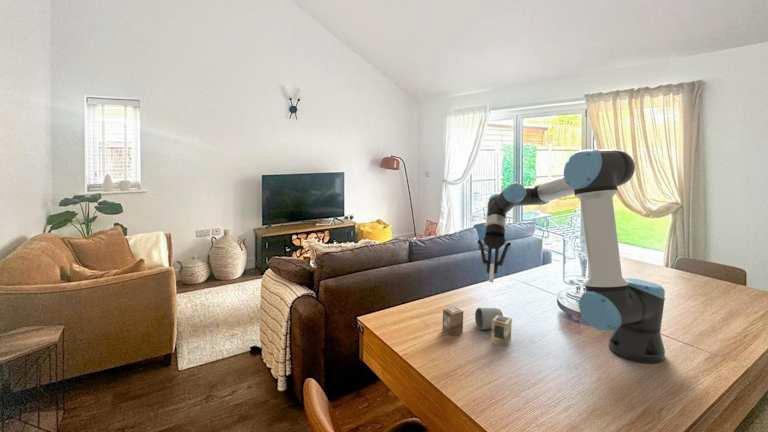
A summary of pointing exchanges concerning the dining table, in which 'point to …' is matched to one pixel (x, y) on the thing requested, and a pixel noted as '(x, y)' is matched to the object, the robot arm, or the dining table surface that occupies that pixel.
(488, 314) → the ceramic mug
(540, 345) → the dining table surface
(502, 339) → the beige framed block
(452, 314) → the walnut numeral block
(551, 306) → the dining table surface
